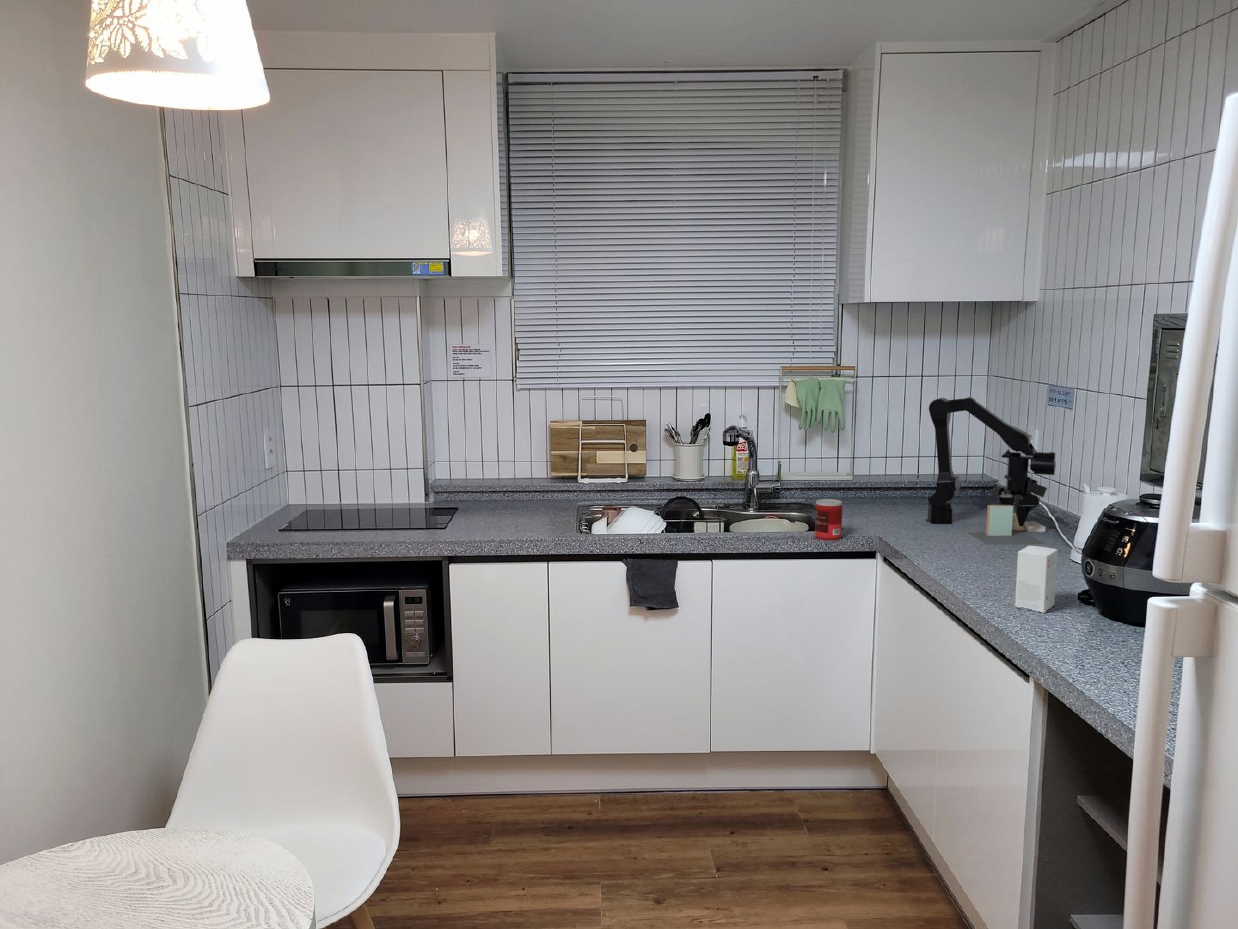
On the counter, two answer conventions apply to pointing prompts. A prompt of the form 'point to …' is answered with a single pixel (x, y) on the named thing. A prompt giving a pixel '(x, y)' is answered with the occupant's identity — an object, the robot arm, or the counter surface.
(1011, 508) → the tile
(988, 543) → the mat
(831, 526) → the canned food
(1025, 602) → the small box
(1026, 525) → the beige l-shaped piece
